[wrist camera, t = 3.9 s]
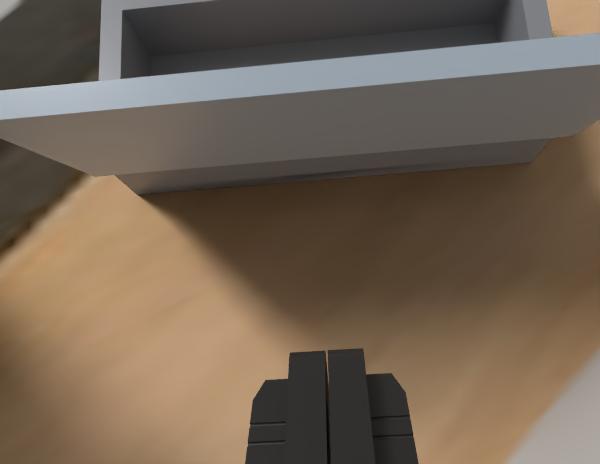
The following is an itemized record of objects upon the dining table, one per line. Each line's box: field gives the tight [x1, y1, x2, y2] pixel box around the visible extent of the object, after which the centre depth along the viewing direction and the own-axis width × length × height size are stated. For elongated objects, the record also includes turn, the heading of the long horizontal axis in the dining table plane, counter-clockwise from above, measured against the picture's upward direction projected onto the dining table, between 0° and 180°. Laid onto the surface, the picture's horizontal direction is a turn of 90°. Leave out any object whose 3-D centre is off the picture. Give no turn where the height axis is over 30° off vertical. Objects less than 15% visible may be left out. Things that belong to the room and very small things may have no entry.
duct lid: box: [0, 33, 600, 177], centre depth 24 cm, size 10×24×1 cm
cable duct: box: [99, 0, 553, 195], centre depth 33 cm, size 10×24×6 cm, turn 93°
